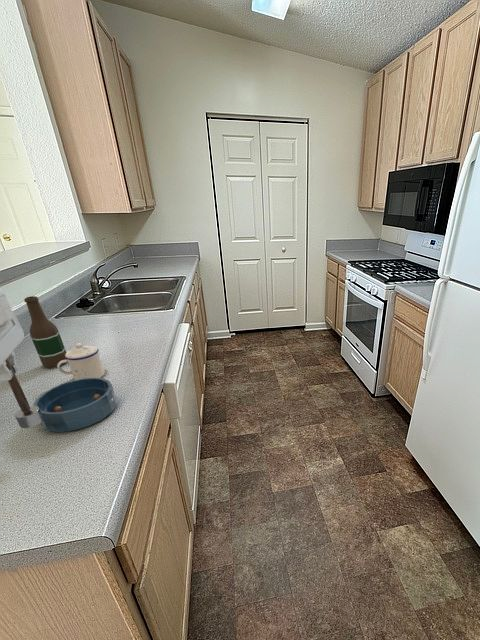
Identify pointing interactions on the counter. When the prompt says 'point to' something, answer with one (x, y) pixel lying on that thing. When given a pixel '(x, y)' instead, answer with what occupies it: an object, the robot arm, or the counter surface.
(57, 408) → the bead
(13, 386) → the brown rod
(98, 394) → the bead
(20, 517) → the counter surface
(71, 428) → the bowl
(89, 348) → the teacup with lid
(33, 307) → the beer bottle
